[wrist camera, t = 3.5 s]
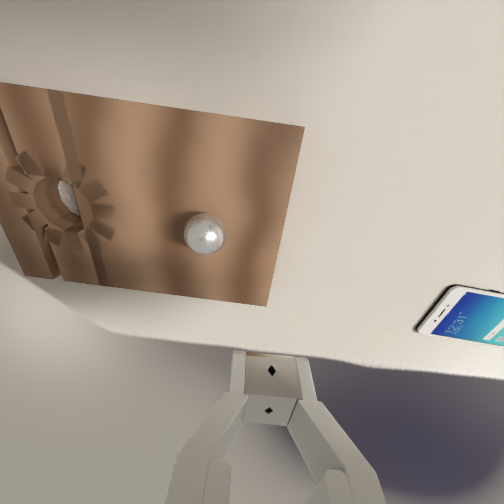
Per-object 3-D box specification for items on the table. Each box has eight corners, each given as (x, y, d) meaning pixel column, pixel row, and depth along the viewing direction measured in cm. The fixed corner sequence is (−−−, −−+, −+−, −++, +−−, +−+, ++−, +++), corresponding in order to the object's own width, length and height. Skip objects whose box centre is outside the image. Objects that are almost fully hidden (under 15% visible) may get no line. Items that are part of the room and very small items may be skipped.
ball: (230, 210, 18) (224, 226, 15) (227, 245, 20) (221, 266, 17) (190, 204, 18) (176, 220, 15) (190, 240, 19) (178, 260, 17)
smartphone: (531, 353, 28) (415, 334, 27) (524, 347, 28) (411, 328, 27) (587, 309, 24) (454, 285, 23) (577, 304, 25) (449, 280, 24)
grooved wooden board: (299, 126, 17) (304, 127, 15) (266, 290, 25) (266, 306, 23) (-26, 78, 16) (-70, 71, 14) (46, 262, 24) (25, 275, 22)
